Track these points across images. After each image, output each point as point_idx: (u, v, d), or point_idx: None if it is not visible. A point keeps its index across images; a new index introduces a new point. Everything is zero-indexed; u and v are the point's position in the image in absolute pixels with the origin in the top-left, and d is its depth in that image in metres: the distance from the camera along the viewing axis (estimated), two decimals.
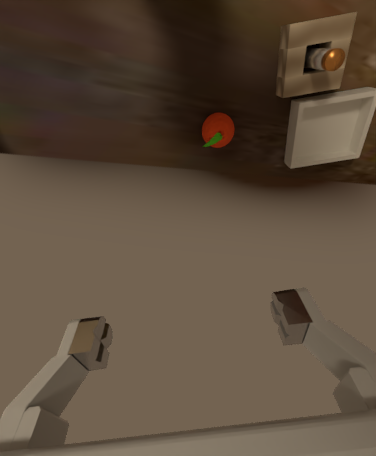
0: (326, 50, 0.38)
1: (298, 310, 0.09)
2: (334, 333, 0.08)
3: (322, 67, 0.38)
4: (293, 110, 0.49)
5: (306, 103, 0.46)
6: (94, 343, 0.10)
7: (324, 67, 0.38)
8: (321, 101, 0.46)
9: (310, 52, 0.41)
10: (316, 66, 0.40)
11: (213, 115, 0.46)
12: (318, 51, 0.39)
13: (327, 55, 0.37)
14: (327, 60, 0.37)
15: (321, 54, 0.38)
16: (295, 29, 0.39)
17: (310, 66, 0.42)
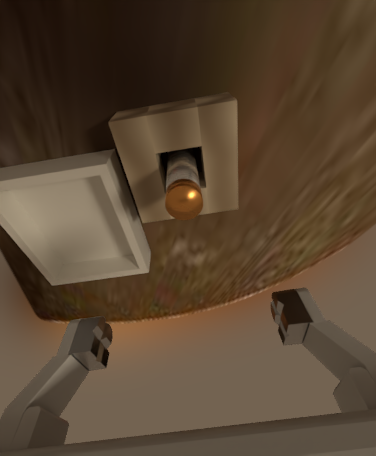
0: (197, 182, 0.19)
1: (298, 310, 0.09)
2: (333, 333, 0.08)
3: (170, 185, 0.18)
4: (95, 157, 0.24)
5: (109, 177, 0.23)
6: (94, 343, 0.10)
7: (170, 188, 0.18)
8: (118, 203, 0.25)
9: (191, 157, 0.22)
10: (171, 173, 0.20)
11: None
12: (194, 169, 0.21)
13: (191, 187, 0.17)
14: (183, 190, 0.17)
15: (191, 176, 0.19)
16: (227, 113, 0.20)
17: (170, 163, 0.22)
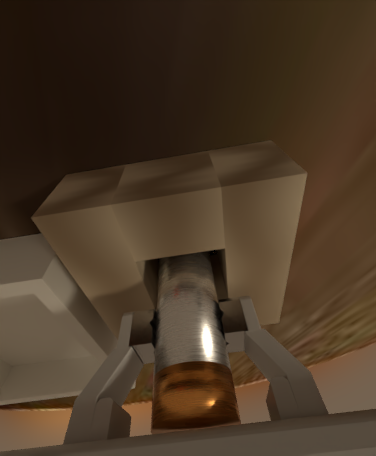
0: (223, 353, 0.09)
1: (236, 318, 0.09)
2: (265, 341, 0.09)
3: (163, 375, 0.08)
4: (30, 251, 0.13)
5: (51, 295, 0.12)
6: (153, 335, 0.10)
7: (164, 398, 0.07)
8: (75, 324, 0.14)
9: (202, 258, 0.12)
10: (165, 321, 0.09)
11: None
12: (211, 302, 0.10)
13: (215, 402, 0.07)
14: (195, 418, 0.07)
15: (210, 339, 0.09)
16: (283, 197, 0.09)
17: (164, 276, 0.11)
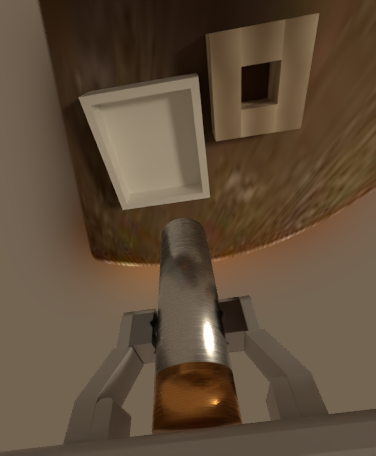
0: (224, 353, 0.09)
1: (236, 318, 0.09)
2: (265, 342, 0.09)
3: (164, 375, 0.08)
4: (182, 76, 0.28)
5: (197, 91, 0.27)
6: (153, 335, 0.10)
7: (165, 398, 0.07)
8: (199, 118, 0.28)
9: (203, 259, 0.12)
10: (166, 321, 0.09)
11: None
12: (212, 302, 0.10)
13: (216, 403, 0.07)
14: (196, 419, 0.07)
15: (211, 340, 0.09)
16: (309, 26, 0.23)
17: (165, 277, 0.11)
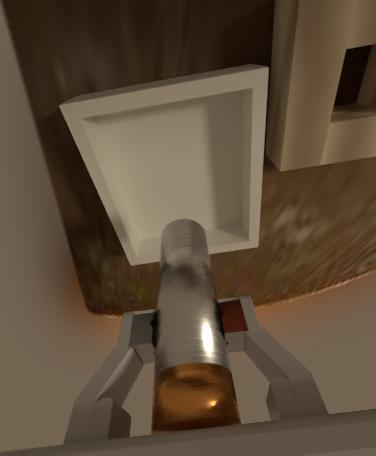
0: (224, 354, 0.09)
1: (236, 318, 0.09)
2: (265, 341, 0.09)
3: (163, 376, 0.08)
4: (233, 69, 0.17)
5: (264, 92, 0.16)
6: (153, 335, 0.10)
7: (164, 399, 0.07)
8: (260, 137, 0.17)
9: (203, 259, 0.12)
10: (165, 322, 0.09)
11: None
12: (212, 303, 0.10)
13: (215, 404, 0.07)
14: (195, 420, 0.07)
15: (210, 341, 0.09)
16: None
17: (164, 277, 0.11)
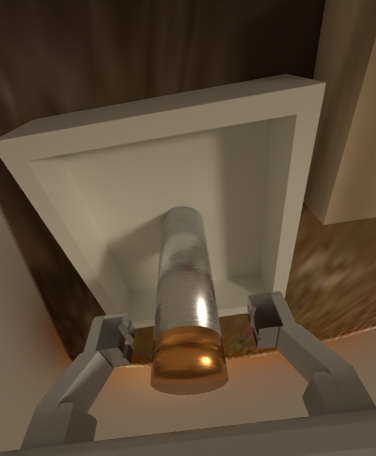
0: (215, 321, 0.10)
1: (270, 314, 0.09)
2: (302, 336, 0.08)
3: (162, 337, 0.09)
4: (263, 83, 0.11)
5: (314, 120, 0.10)
6: (120, 339, 0.10)
7: (162, 354, 0.09)
8: (300, 183, 0.12)
9: (199, 242, 0.13)
10: (164, 294, 0.11)
11: None
12: (206, 279, 0.11)
13: (205, 358, 0.08)
14: (188, 369, 0.08)
15: (203, 309, 0.10)
16: None
17: (164, 257, 0.13)
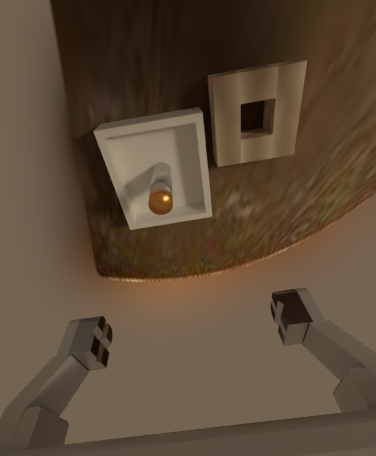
0: (170, 190, 0.29)
1: (298, 310, 0.09)
2: (333, 333, 0.08)
3: (151, 192, 0.28)
4: (187, 111, 0.31)
5: (202, 124, 0.30)
6: (94, 343, 0.10)
7: (151, 194, 0.28)
8: (203, 147, 0.31)
9: (167, 173, 0.33)
10: (152, 184, 0.30)
11: None
12: (168, 181, 0.31)
13: (164, 193, 0.28)
14: (159, 195, 0.27)
15: (165, 186, 0.29)
16: (298, 71, 0.27)
17: (153, 177, 0.32)
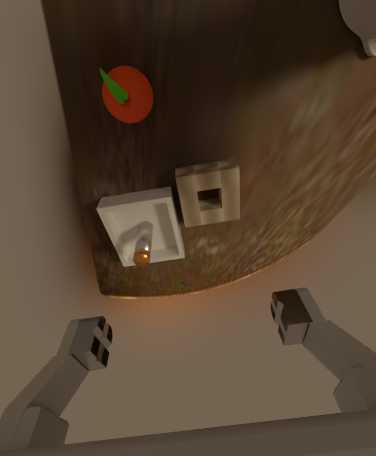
0: (148, 249, 0.42)
1: (298, 310, 0.09)
2: (333, 333, 0.08)
3: (135, 251, 0.42)
4: (161, 191, 0.44)
5: (171, 203, 0.42)
6: (94, 343, 0.10)
7: (135, 254, 0.41)
8: (173, 216, 0.44)
9: (148, 232, 0.46)
10: (137, 244, 0.43)
11: (149, 85, 0.31)
12: (148, 241, 0.44)
13: (143, 254, 0.41)
14: (140, 255, 0.41)
15: (145, 246, 0.42)
16: (234, 173, 0.40)
17: (138, 236, 0.45)
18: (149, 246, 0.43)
